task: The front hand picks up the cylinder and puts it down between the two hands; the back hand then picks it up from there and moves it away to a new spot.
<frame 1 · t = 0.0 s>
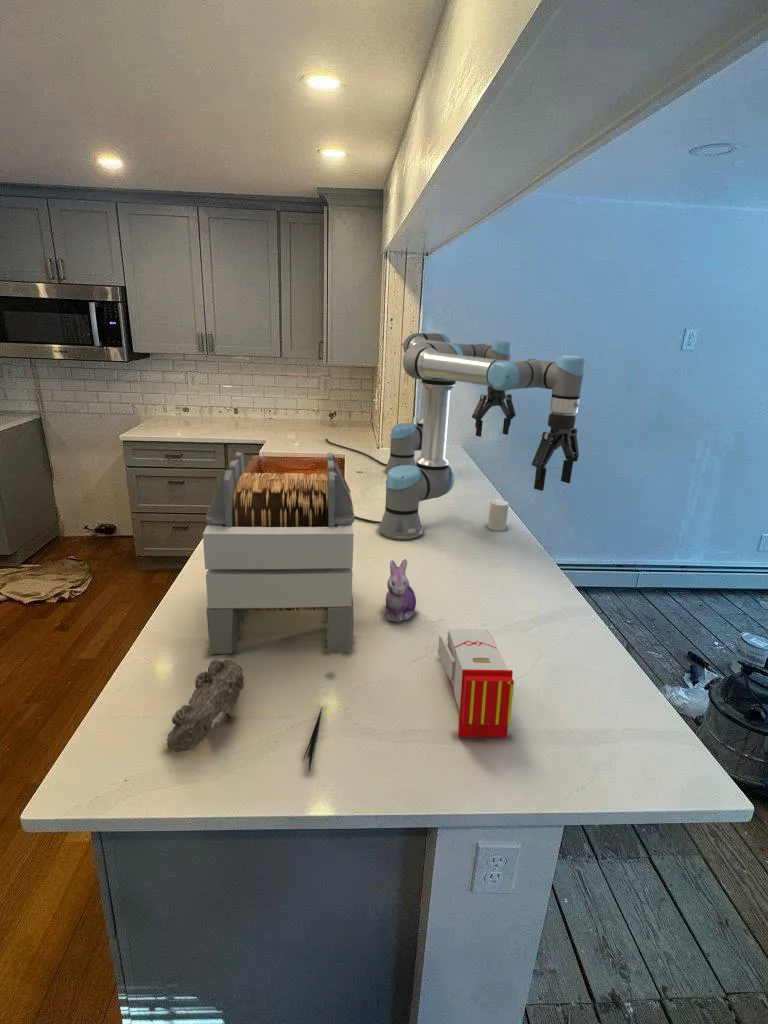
front hand: (552, 485, 166), 28 cm above the counter, tool pointing down, fingers open, 13 cm apart
back hand: (491, 435, 230), 28 cm above the counter, tool pointing down, fingers open, 13 cm apart
toy: (469, 691, 119), on the counter
feather: (319, 719, 109), on the counter
record storage crate: (285, 616, 144), on the counter
figurine: (399, 614, 147), on the counter
cylinder: (496, 527, 210), on the counter
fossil: (212, 717, 108), on the counter
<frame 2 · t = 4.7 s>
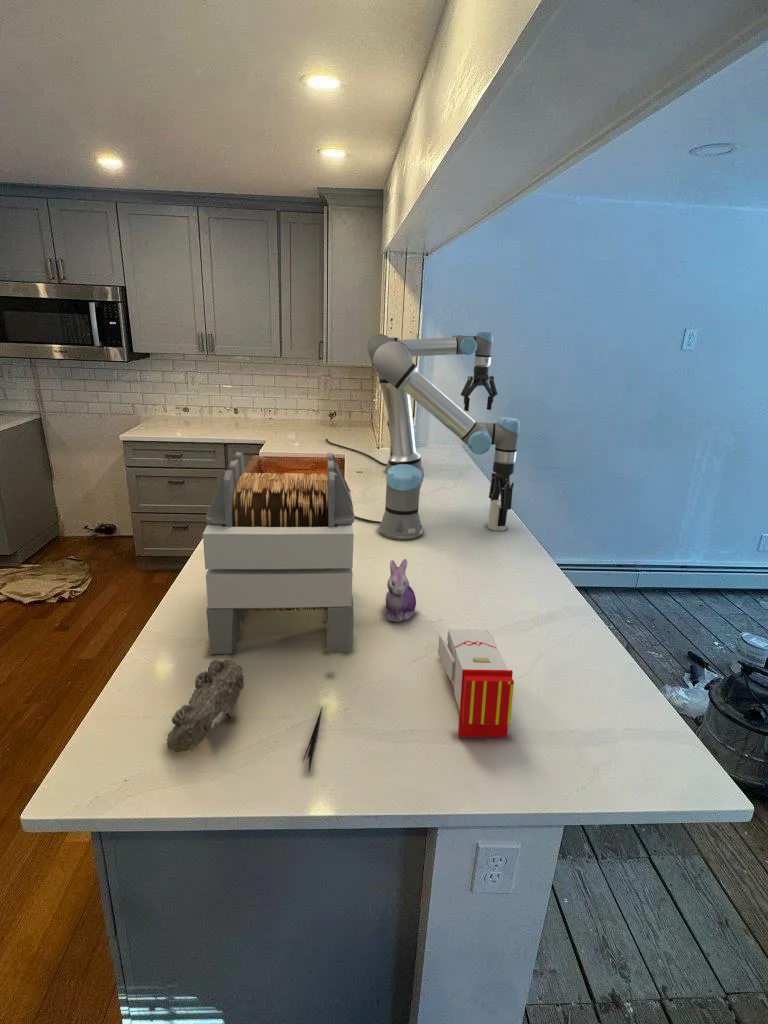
front hand: (497, 522, 209), 2 cm above the counter, tool pointing down, fingers closed on cylinder, 7 cm apart
back hand: (477, 410, 278), 29 cm above the counter, tool pointing down, fingers open, 13 cm apart
cylinder: (496, 527, 210), on the counter, touching front hand
everything else where it was.
when the front hand's fingers open (4 cm above the counter, at t = 9.8 s): cylinder drops 2 cm, on the counter.
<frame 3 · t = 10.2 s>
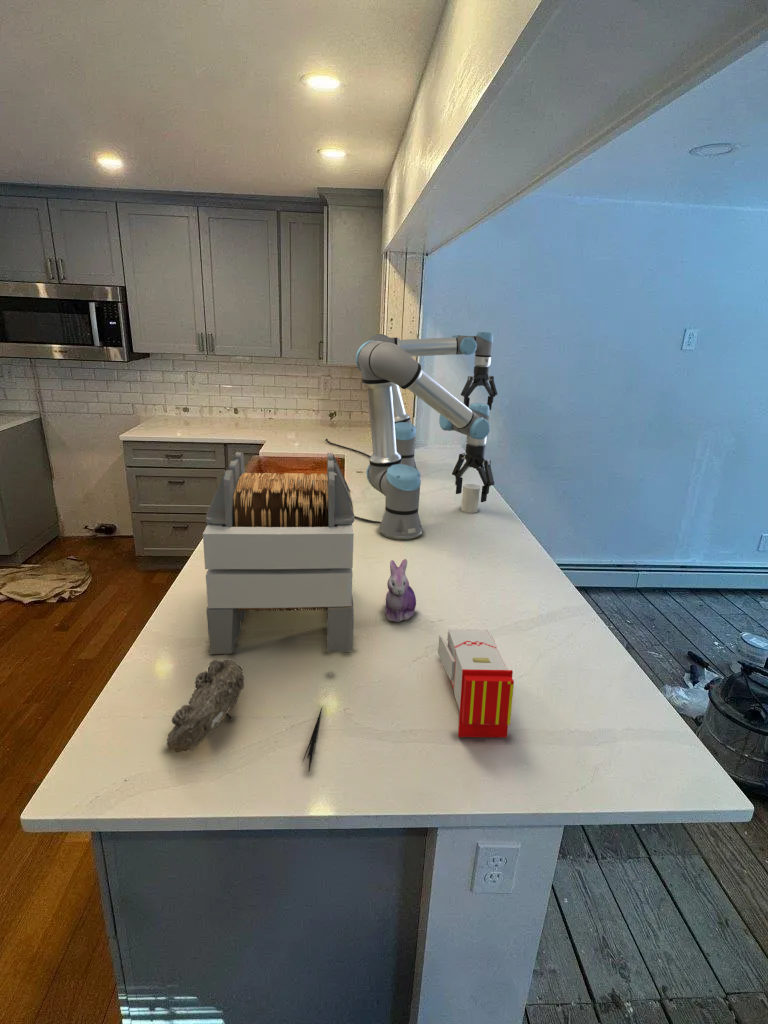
front hand: (470, 497, 225), 5 cm above the counter, tool pointing down, fingers open, 12 cm apart
back hand: (477, 410, 278), 29 cm above the counter, tool pointing down, fingers open, 13 cm apart
cylinder: (469, 510, 227), on the counter
everything else where it was.
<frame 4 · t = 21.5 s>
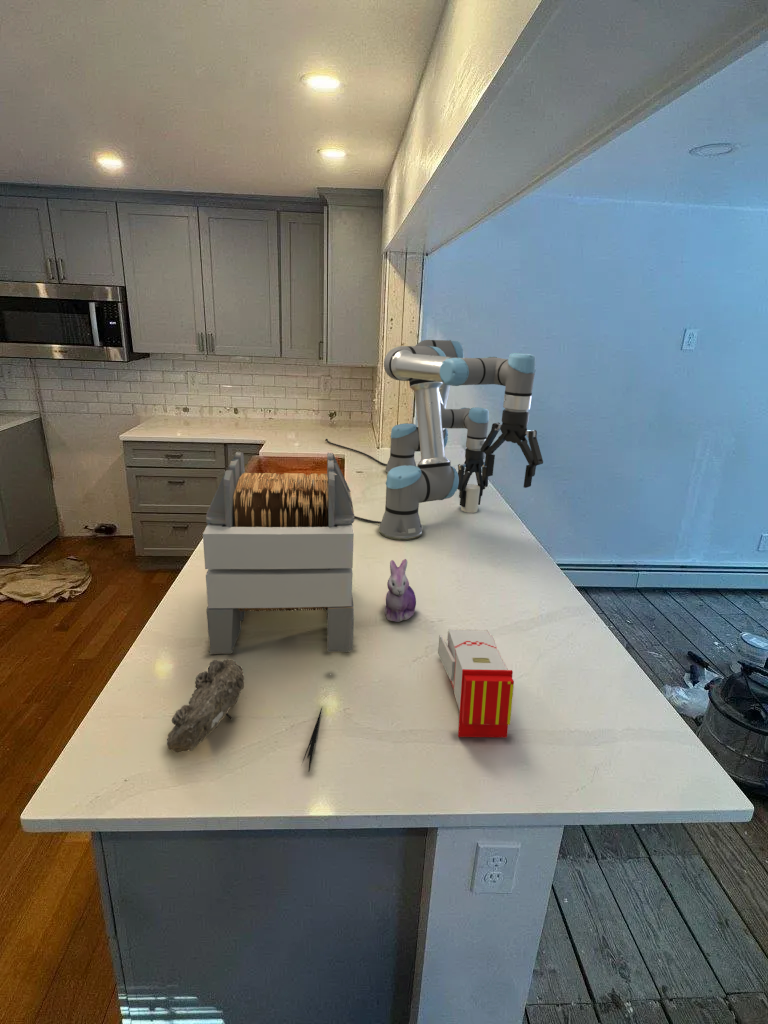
front hand: (507, 481, 169), 28 cm above the counter, tool pointing down, fingers open, 13 cm apart
back hand: (469, 504, 226), 2 cm above the counter, tool pointing down, fingers closed on cylinder, 7 cm apart
cylinder: (469, 510, 227), on the counter, touching back hand
everything else where it was.
when the back hand's fingers open (4 cm above the counter, at t = 28.6 s): cylinder drops 2 cm, on the counter.
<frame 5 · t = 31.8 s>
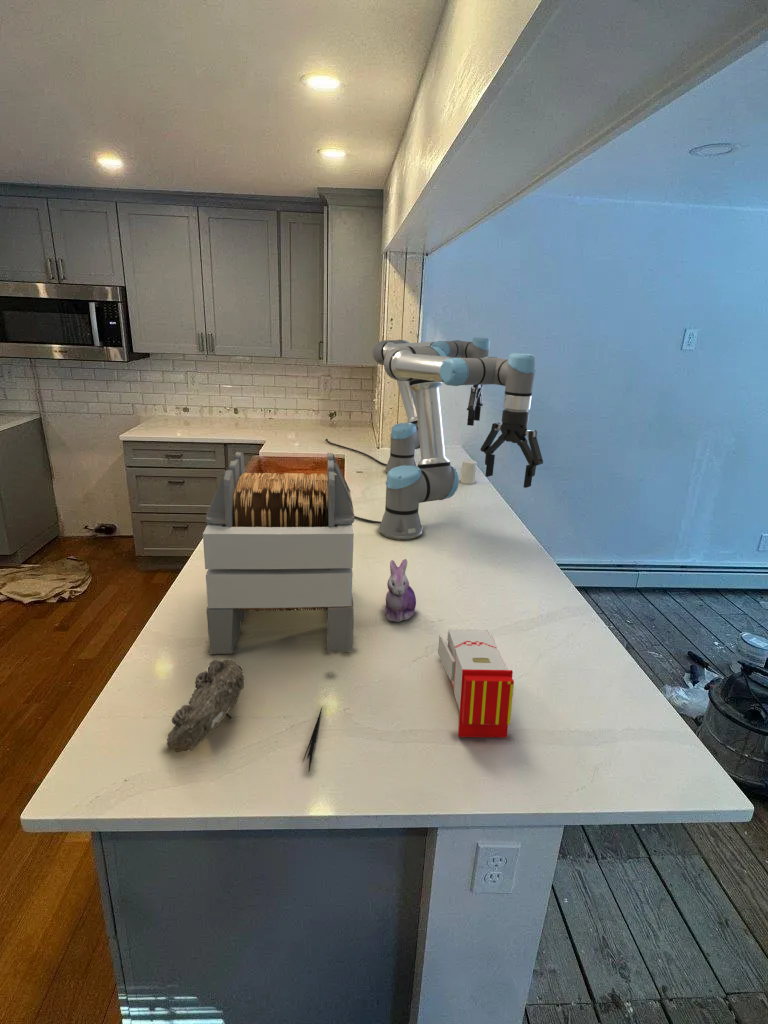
front hand: (507, 481, 169), 28 cm above the counter, tool pointing down, fingers open, 13 cm apart
back hand: (473, 422, 255), 28 cm above the counter, tool pointing down, fingers open, 13 cm apart
cylinder: (467, 482, 264), on the counter
everything else where it was.
at the end: cylinder inside the target area (0.1 cm from its centre), on the counter; cylinder tilted 0°; the two hands never held the cylinder at the same time; the front hand is holding nothing; the back hand is holding nothing; cylinder at rest at the end (0.0 cm/s) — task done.
